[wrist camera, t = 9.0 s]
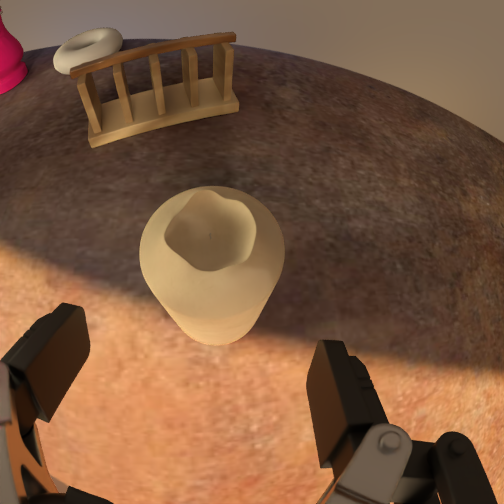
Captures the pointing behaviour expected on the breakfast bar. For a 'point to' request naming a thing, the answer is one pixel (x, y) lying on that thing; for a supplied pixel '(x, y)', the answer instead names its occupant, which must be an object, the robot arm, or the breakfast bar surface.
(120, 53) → the toast rack
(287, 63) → the breakfast bar surface
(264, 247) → the candle
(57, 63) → the donut
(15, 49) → the pepper mill
